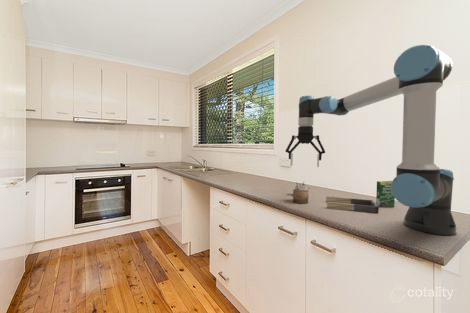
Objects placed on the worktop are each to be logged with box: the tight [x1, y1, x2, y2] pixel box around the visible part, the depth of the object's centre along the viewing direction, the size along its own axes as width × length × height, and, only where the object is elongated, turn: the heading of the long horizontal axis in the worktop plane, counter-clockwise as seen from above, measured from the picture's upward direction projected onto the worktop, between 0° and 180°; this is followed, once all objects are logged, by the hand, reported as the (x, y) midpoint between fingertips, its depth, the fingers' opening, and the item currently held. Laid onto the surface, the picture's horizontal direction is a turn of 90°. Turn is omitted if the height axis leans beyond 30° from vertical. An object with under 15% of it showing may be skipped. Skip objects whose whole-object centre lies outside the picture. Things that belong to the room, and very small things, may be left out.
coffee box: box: [375, 180, 396, 208], centre depth 113 cm, size 8×3×13 cm, turn 90°
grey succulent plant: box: [294, 182, 310, 191], centre depth 136 cm, size 9×8×10 cm
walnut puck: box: [292, 189, 309, 205], centre depth 121 cm, size 8×8×6 cm
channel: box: [325, 195, 380, 214], centre depth 112 cm, size 13×22×3 cm, turn 69°
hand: (304, 166), depth 119 cm, fingers open, 13 cm apart
